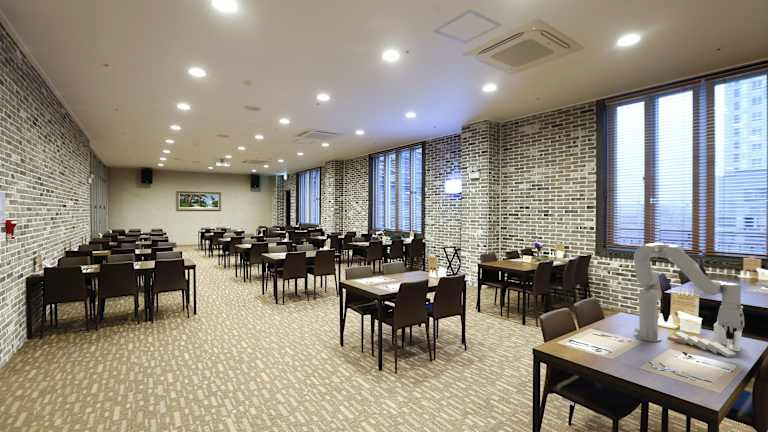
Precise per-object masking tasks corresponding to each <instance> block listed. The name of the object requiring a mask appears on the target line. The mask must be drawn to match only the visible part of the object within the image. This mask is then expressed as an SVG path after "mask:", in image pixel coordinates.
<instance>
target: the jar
mask: <svg viewBox="0 0 768 432" xmlns="http://www.w3.org/2000/svg"><path fill="white" fill-rule="evenodd" d="M716 318H717V319H716V322H715V323H714V324H713V342H717V343H719V344H721V345H723V346H727V339H726V333H725V329H724V328H723V327H722V326H719V325H718V316H717V317H716Z"/></svg>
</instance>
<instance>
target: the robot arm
mask: <svg viewBox="0 0 768 432" xmlns="http://www.w3.org/2000/svg"><path fill="white" fill-rule="evenodd" d="M654 257H658V258H659V257H660V258H667V259H668V260H669V261H670V262H671V263H672V264H673V265H675V266H676V267H677V268H678V269H679V270H680V271H682V272H683V273H684V275H685V276H686V277H687V278H688V280H690V281H691V283H692V284H693V285H694V286H696V287H697V288H698V289H699V290H700V291H702V293H704V294H705V295H708V296H716V295H721V305H720V306H719V309H718V313H717V314H718V315H717V317H718V325H719V326H722V327H723V328H724V329H725V331H726V339H734V332H736V331H744V330H743V328H745V316H744V315H745V314H744V312H743V309H744V306H743V305H742V304H741V296H742V295H741V294H742V293H741V292H742V291H741V290H742V287H741V285H740V284H738V283H733V282H724V281H723V282H722V281H719V280H714V279H710V278H709V277H708V276H707V275H706V274H705V273H704V272H703V271H702V269H701V267H700V265H699V264H698V262H696V261H695V260H694V259H692V258H691V257H690V256H689V255H688V254H687V253H686V252H685V249H684V248H683V247H682V246H681V245H678V244H667V243H666V244H665V243H655V242H653V243H651V242H650V243H645V244H643V245H641V246H639V247H638V248H637V249H636V250H635V251H634V253H633V261H634V269H635V274H636V275H635V276H636V281H637V283H638V284H639V285H640V286H642V289H641V290H640V291H639V293H638V296H637V300H638V301H637V302H638V313H639V315H638V317H639V318H638V320H639V321H638V327H636V328H634V330H633V331H634V332H635V333H637V334H636V336H635V337H636V338H637V339H639V340H642V341H646V342H653V343H654V342H656V343H658V342H661V341H662V339H661V337H659V314H658V313H659V311H658V301H660V300H661V298H662V297H663V296H662V289H661V283H660V282H661V281H660V278H659V275H658V273H656V272H655V271H653V269H652V263H651V261H650V260H651V259H650V258H654Z"/></svg>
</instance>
